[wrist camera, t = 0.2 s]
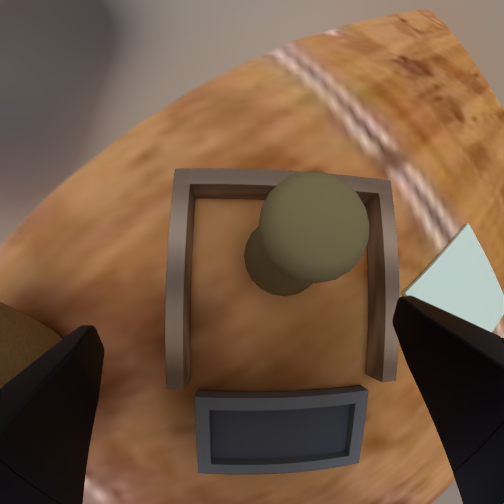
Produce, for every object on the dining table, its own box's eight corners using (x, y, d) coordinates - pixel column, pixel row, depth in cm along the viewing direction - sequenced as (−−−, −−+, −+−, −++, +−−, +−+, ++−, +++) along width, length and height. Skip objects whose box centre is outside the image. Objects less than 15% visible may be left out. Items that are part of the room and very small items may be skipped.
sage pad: (504, 306, 23) (508, 306, 22) (450, 380, 22) (453, 381, 21) (464, 224, 24) (468, 223, 24) (401, 293, 23) (405, 292, 22)
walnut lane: (378, 372, 22) (395, 380, 19) (175, 377, 21) (166, 388, 18) (374, 193, 24) (390, 180, 21) (181, 184, 23) (175, 168, 20)
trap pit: (352, 455, 20) (358, 463, 19) (200, 463, 20) (198, 472, 18) (360, 385, 21) (368, 390, 20) (197, 390, 21) (194, 396, 19)
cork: (319, 218, 23) (379, 157, 13) (323, 294, 22) (393, 288, 12) (244, 217, 23) (250, 148, 12) (244, 296, 22) (252, 292, 11)
